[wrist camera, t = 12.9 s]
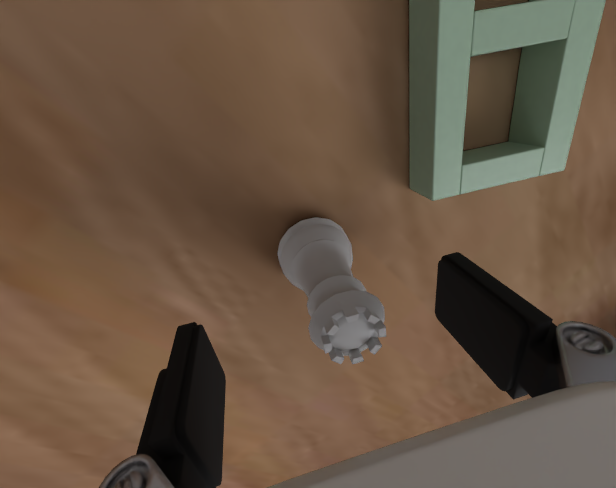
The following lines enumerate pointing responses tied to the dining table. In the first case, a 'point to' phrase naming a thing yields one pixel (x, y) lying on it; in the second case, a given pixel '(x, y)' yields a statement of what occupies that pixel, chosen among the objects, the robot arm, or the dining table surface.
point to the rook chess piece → (331, 289)
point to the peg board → (528, 97)
